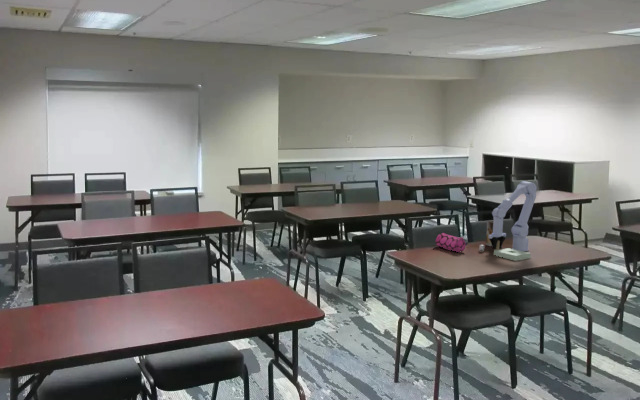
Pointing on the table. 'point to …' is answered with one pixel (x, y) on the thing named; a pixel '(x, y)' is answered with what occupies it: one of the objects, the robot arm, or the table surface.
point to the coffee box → (489, 232)
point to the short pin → (481, 247)
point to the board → (512, 254)
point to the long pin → (497, 245)
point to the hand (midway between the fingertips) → (496, 248)
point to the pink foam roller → (451, 242)
